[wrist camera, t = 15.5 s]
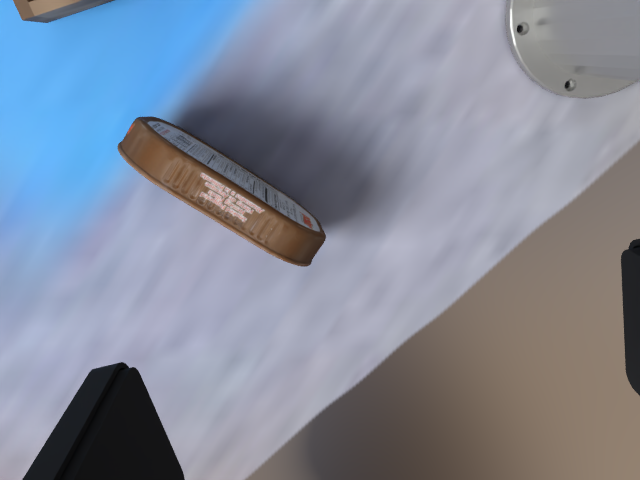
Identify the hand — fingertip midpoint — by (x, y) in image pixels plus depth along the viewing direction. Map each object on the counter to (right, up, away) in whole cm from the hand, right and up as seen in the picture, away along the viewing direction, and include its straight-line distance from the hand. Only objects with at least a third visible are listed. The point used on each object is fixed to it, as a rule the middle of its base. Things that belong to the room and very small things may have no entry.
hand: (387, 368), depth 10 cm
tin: (-8, +7, +30) cm, 32 cm away
